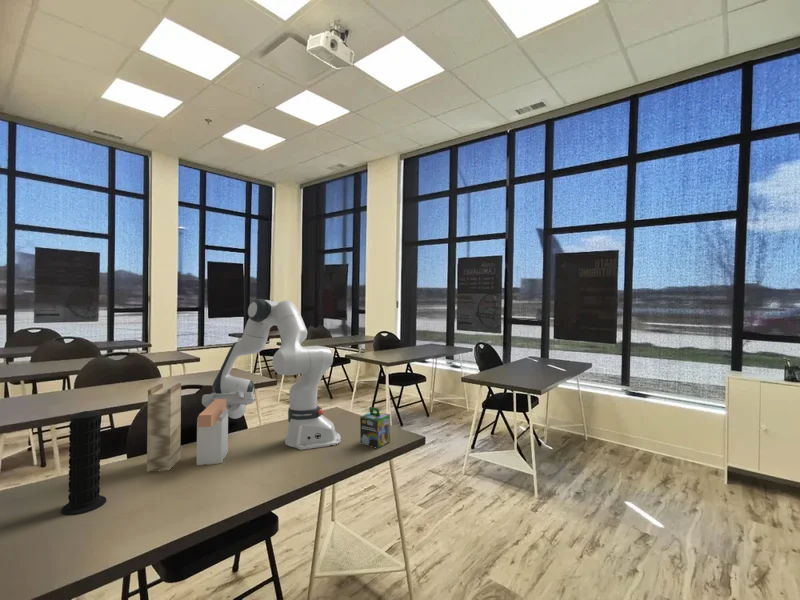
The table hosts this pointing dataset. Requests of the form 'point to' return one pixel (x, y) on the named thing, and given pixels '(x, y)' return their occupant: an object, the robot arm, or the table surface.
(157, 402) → the block
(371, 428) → the chalk box
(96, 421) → the handle grip
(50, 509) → the table surface
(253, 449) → the table surface
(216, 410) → the shaft
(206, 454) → the yoke block
